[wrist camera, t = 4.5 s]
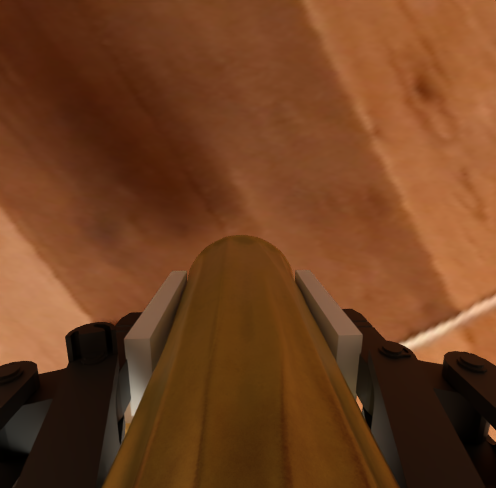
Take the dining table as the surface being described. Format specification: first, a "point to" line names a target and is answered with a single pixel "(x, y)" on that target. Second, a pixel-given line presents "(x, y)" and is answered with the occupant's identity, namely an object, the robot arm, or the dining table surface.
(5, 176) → the dining table surface
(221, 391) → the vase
